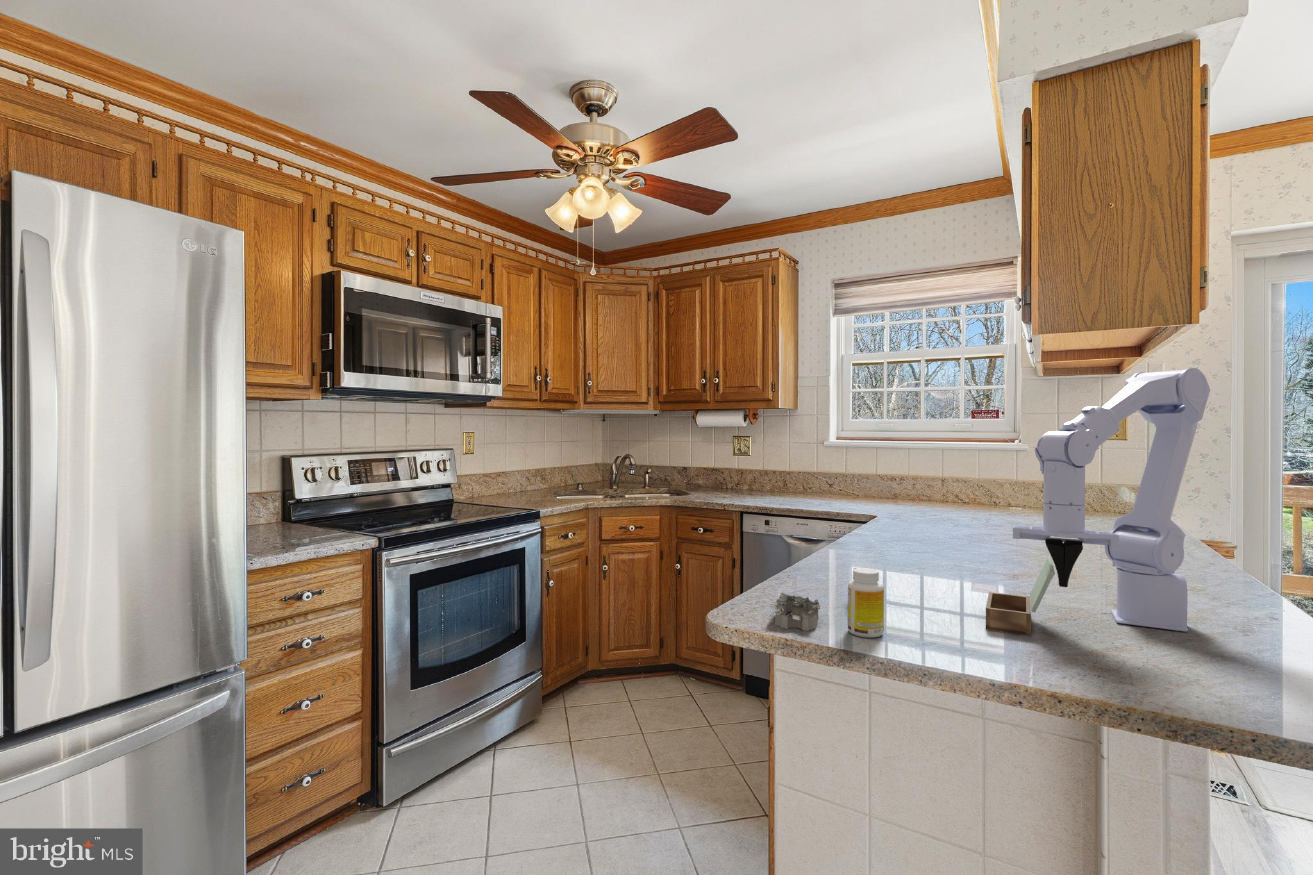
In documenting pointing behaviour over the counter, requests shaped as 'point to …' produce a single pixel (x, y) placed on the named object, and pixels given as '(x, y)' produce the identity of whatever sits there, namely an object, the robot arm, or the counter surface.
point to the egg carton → (796, 612)
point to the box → (1008, 613)
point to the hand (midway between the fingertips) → (1063, 585)
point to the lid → (1041, 584)
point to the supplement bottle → (865, 604)
